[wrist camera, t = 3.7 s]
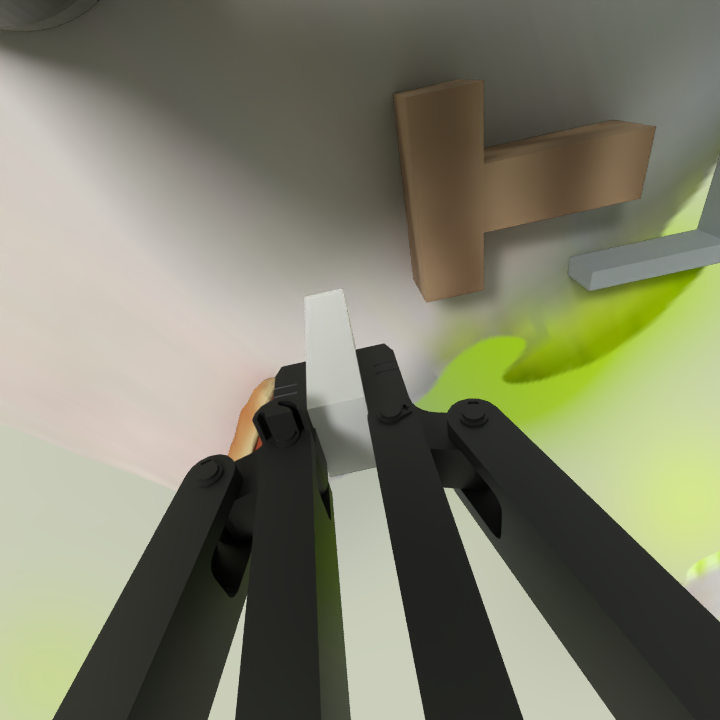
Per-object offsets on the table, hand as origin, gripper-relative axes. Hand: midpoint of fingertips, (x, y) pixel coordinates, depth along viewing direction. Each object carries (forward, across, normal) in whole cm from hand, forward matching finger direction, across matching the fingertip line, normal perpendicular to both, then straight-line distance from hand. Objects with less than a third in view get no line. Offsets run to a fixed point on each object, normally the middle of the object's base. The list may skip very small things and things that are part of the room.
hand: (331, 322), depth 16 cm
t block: (+14, +13, 0) cm, 19 cm away
